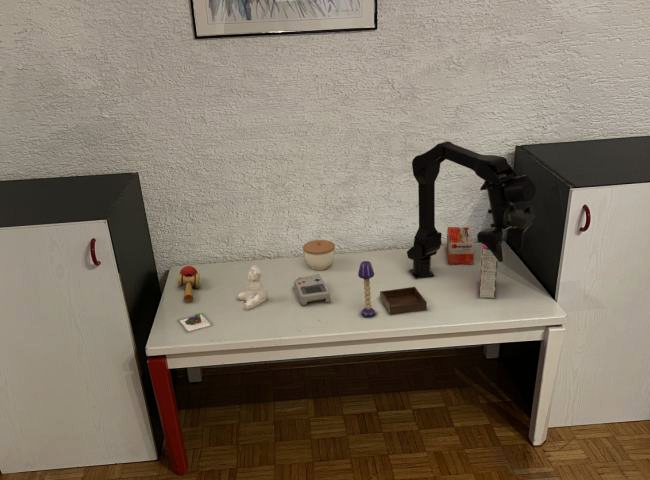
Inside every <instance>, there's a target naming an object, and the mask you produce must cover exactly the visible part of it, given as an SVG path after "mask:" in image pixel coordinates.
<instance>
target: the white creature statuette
mask: <svg viewBox="0 0 650 480" xmlns="http://www.w3.org/2000/svg"><path fill="white" fill-rule="evenodd" d="M261 278H262V270H261V268H259V267H258V266H257V265H256V264H255V265H251V267H250V268H249V271H248V272H247V284H246V291H245V290H244V291H241V292H239V293H238V300H239V301H245V303H244V308H245V310H252V309H253V308H256V307H257V306H259V305H261V304H263V303H264V302H265V301H266V300H267V298H268V291H267V289H266V288H265V287H264V286H263V284H262V281H261Z"/></svg>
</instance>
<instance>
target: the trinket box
mask: <svg viewBox="0 0 650 480" xmlns="http://www.w3.org/2000/svg"><path fill="white" fill-rule="evenodd" d="M335 249H336V246H335V243H334V242H332V241H330V240H327V239H315V240H310V241H308V242H306V243H304V244H303V246H302V250H303V257H304V261H305V263H306V264H307V265H308V267H310V268H311V269H312V270H314V271H324V270H327V269H328V268H329V267H330V266H331V264H332V263H333V262H334V260H335V251H336V250H335Z"/></svg>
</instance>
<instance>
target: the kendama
mask: <svg viewBox="0 0 650 480" xmlns="http://www.w3.org/2000/svg"><path fill="white" fill-rule="evenodd" d="M198 272H199V271H198V270H197V269H196V267H194V266H192V265H186V266H183V267H182V268H181V269H180V271H179V273H178V279H177V287H178V288H183V287H184V286H185V287H184V294H183V300H184V302H185V303H192V302H193V301H194V294H193V293H194V292H193V287H194V288H195V289H200V284H201V283H200V281H201V280H200V277H201V274H200V273H198Z"/></svg>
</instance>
